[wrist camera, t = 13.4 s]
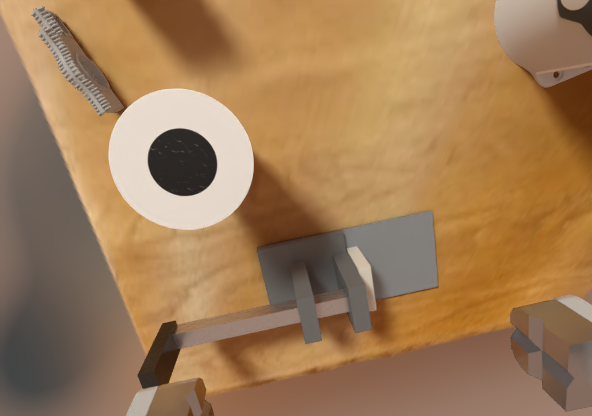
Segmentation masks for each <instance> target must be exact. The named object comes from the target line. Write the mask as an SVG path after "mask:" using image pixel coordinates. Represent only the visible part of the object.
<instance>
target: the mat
mask: <svg viewBox="0 0 592 416" xmlns="http://www.w3.org/2000/svg"><path fill="white" fill-rule="evenodd" d="M342 231H343V234H344V240H345V246H346V248H351V247H356V246H357V247H358V248H359V250H360V251H361V253H362V254H363V256H364V257H365V258H366V260H367V261H368V263H369V264H370V266H371V273H372V280H373V287H374V294H375V300H379V299H383V298H388V297H392V296H397V295H402V294H406V293H411V292H415V291H420V290H425V289H429V288H434V287H438V277H437V264H436V251H435V238H434V225H433V212H432V211H427V212H423V213H418V214H413V215H408V216H404V217H399V218H394V219H389V220H385V221H380V222H375V223H370V224H366V225H361V226H356V227H351V228H346V229H342ZM346 252H347V251H346Z"/></svg>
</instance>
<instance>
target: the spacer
mask: <svg viewBox="0 0 592 416" xmlns="http://www.w3.org/2000/svg"><path fill="white" fill-rule="evenodd" d="M346 251H347V254H348V256H349V258H350V259H351V261H352V263H353V264H354V266H355V268H356V270H357V271H358V273H359V275H360V276H361V278H362V280H363V282H364V283H365V286H366V292H367V299H368V306H369V312H371V311H376V310H377V309H376V302H375V294H374V287H373V280H372V273H371V266H370V264H369V263H368V261H367V260H366V258H365V257H364V256H363V254H362V253H361V251H360V250H359V248H358V247H357V246H356V247H351V248H346Z"/></svg>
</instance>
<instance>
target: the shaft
mask: <svg viewBox="0 0 592 416" xmlns="http://www.w3.org/2000/svg"><path fill="white" fill-rule="evenodd" d="M313 296H314V301H315V306H316V311H317V317H318V318H323V317H327V316H332V315H336V314H341V313H346V312H350V306H349V300H348V296H347V293H346V291H345V289H340V290H336V291H331V292H326V293H322V294H317V295H313ZM300 322H301V321H300V316H299V311H298V307H297V302H296V299H294V300H289V301H285V302H280V303H275V304H271V305H266V306H261V307H257V308H252V309H248V310H243V311H238V312H234V313H229V314H224V315H220V316H215V317H211V318H206V319H201V320H197V321H192V322H187V323H183V324H178V325H177V323H176V321H171V322H167V323H163V324H162V326H161V328H160V330H159V332H158V334H157V336H156V338H155V340H154V342H153V344H152V346H151V348H150V350H149V353H148V355H147V357H146V359H145V361H144V363H143V365H142V367H141V370H140V371H139V373H138V378H139V380H140V383H141V385H142V388H143V389H145V388H150V387H155V386H161V385H164V384H168V383H169V380H170V377H171V375H172V372H173V369H174V366H175V363H176V361H177V358H178V355H179V352H180V349H181V348H185V347H190V346H194V345H199V344H204V343H208V342H213V341H217V340H222V339H226V338H231V337H236V336H240V335H245V334H249V333H254V332H259V331H263V330H268V329H272V328H277V327H281V326H286V325H291V324H295V323H300Z"/></svg>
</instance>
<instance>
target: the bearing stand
mask: <svg viewBox="0 0 592 416" xmlns="http://www.w3.org/2000/svg"><path fill="white" fill-rule="evenodd" d="M257 253H258V257H259V261H260V265H261V269H262V274H263V278H264V282H265V286H266V290H267V294H268V298H269V303H270V305H271V304H275V303H280V302H285V301H289V300H294V299H296V302H297V307H298V311H299V316H300V321H301V325H302V330H303V335H304V339H305V344H309V343H313V342H318V341H322V337H321V332H320V327H319V322H318V317H317V311H316V306H315V301H314V296H313V295H317V294H322V293H326V292H331V291H336V290H340V289H345V291H346V293H347V296H348V300H349V306H350V312H347V314H348V316H349V319H350V321H351V324H352V326H353V329H354V331H355V333H359V332H363V331H368V330H372V327H371V320H370V313H369V306H368V299H367V292H366V286H365V283H364V282H363V280H362V278H361V276H360V275H359V273H358V271H357V270H356V268H355V266H354V264H353V263H352V261H351V259H350V258H349V256H348V254H347V252H346V246H345V240H344V234H343V231H342V230H337V231H332V232H327V233H323V234H318V235H313V236H308V237H304V238H299V239H294V240H289V241H285V242H280V243H275V244H270V245H266V246H261V247H257Z"/></svg>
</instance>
